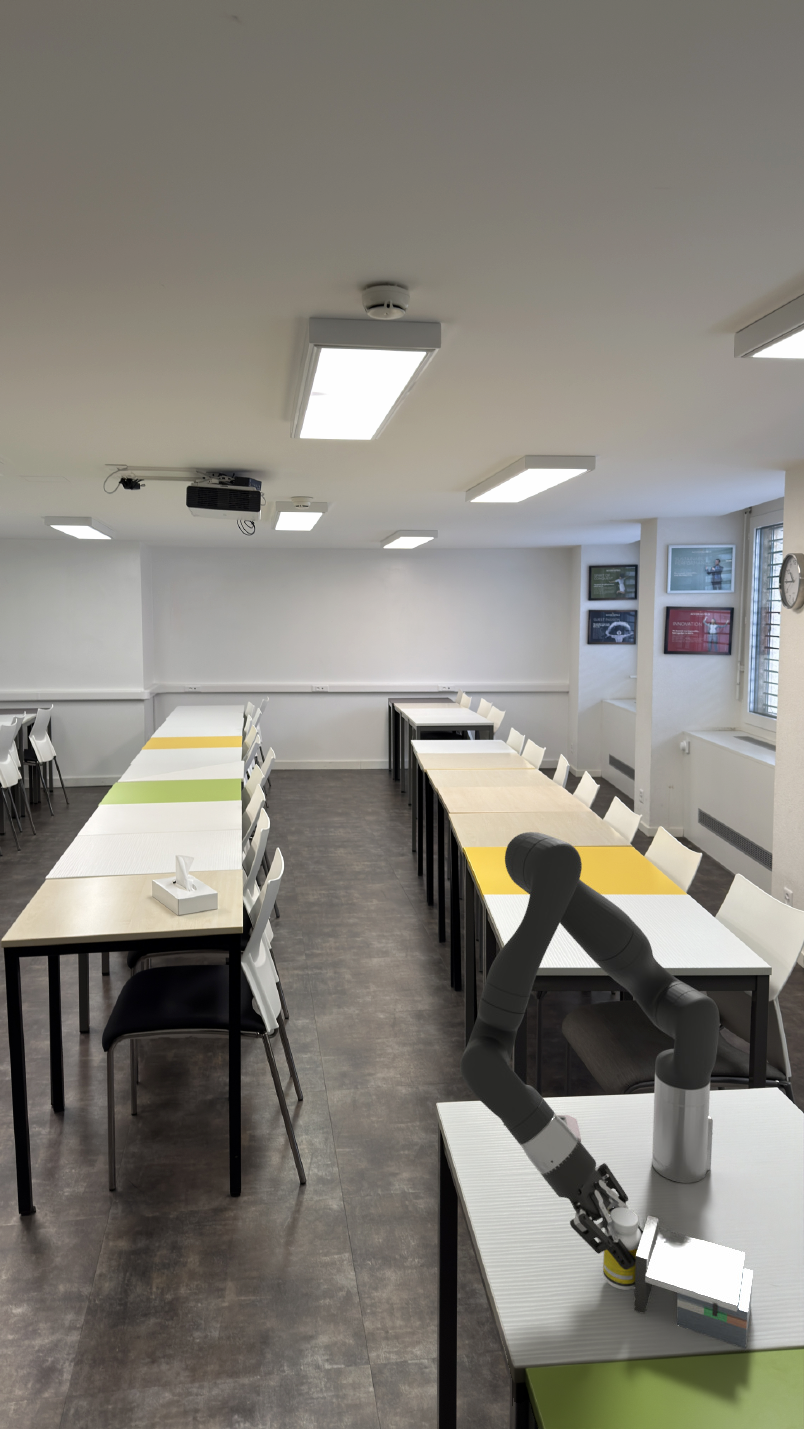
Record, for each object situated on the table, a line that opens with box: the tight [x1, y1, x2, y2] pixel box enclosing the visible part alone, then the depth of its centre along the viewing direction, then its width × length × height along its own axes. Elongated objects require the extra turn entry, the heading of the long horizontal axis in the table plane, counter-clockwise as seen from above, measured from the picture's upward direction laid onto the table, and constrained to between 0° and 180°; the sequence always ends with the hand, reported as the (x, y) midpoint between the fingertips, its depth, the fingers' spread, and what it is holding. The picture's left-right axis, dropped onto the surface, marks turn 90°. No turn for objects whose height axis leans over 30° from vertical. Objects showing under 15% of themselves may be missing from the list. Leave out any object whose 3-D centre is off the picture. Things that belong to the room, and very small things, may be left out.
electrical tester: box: [556, 1114, 582, 1143], centre depth 169 cm, size 7×16×3 cm, turn 86°
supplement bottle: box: [602, 1207, 642, 1291], centre depth 130 cm, size 5×5×10 cm
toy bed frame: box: [633, 1214, 746, 1317], centre depth 126 cm, size 14×10×8 cm
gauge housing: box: [676, 1267, 754, 1349], centre depth 125 cm, size 9×8×6 cm
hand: (635, 1251), depth 129 cm, fingers closed on supplement bottle, 5 cm apart
